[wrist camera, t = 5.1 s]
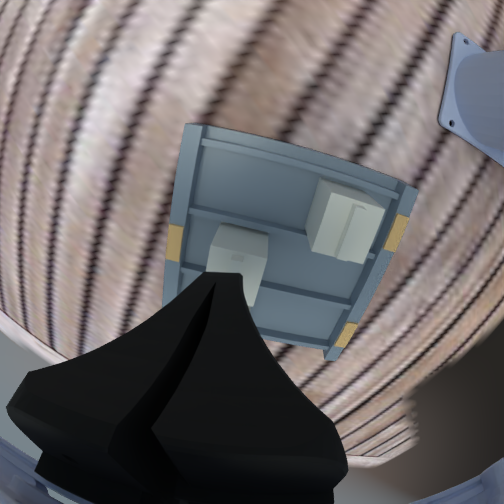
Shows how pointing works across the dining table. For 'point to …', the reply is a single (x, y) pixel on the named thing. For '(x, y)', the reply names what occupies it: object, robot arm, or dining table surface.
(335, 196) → the tab
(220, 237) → the tab
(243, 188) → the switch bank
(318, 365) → the dining table surface
